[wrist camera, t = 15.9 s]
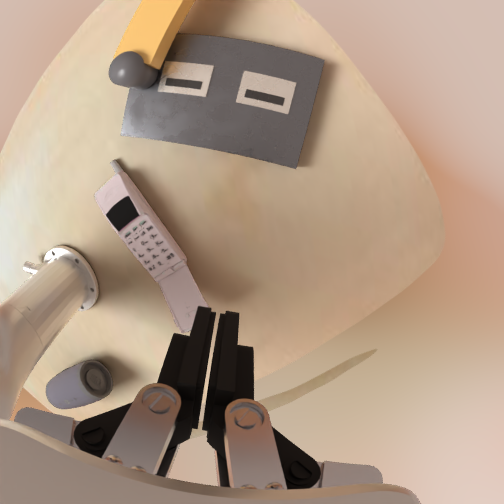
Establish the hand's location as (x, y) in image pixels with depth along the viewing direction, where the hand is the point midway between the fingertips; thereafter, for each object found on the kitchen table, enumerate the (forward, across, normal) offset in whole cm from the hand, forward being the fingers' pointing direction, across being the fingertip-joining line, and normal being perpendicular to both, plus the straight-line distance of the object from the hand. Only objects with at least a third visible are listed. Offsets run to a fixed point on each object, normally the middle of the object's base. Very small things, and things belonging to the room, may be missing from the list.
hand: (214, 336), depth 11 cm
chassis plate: (+26, +5, -13) cm, 29 cm away
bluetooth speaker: (+28, +30, +47) cm, 62 cm away
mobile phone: (+26, +11, +8) cm, 30 cm away
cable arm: (+23, +13, -23) cm, 35 cm away
